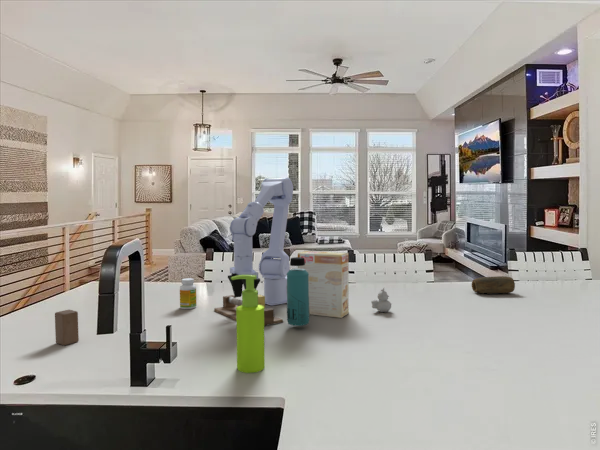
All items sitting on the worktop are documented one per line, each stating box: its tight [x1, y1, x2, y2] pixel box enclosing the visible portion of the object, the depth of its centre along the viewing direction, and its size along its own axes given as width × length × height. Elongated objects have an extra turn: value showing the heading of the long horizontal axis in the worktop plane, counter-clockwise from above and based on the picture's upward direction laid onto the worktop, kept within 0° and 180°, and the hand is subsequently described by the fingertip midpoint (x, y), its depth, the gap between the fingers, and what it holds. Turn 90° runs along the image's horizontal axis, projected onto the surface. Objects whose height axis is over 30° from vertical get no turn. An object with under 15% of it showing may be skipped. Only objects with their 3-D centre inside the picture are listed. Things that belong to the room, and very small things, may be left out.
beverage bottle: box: [286, 256, 310, 327], centre depth 122 cm, size 6×7×20 cm
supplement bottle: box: [179, 277, 197, 310], centre depth 146 cm, size 5×5×10 cm
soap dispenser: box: [231, 275, 266, 374], centre depth 92 cm, size 6×7×20 cm
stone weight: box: [471, 275, 516, 295], centre depth 167 cm, size 15×7×7 cm, turn 95°
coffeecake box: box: [297, 250, 350, 319], centre depth 138 cm, size 15×7×20 cm, turn 65°
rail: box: [213, 294, 284, 327], centre depth 135 cm, size 25×10×4 cm, turn 37°
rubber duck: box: [371, 287, 392, 313], centre depth 140 cm, size 5×7×8 cm
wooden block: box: [54, 309, 80, 346], centre depth 110 cm, size 4×4×8 cm
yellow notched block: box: [258, 294, 266, 309], centre depth 131 cm, size 3×6×6 cm, turn 127°
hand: (243, 298), depth 136 cm, fingers open, 7 cm apart
